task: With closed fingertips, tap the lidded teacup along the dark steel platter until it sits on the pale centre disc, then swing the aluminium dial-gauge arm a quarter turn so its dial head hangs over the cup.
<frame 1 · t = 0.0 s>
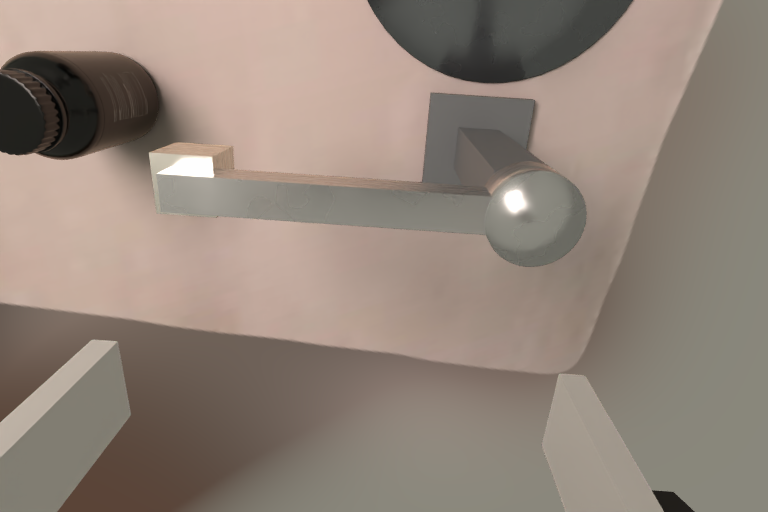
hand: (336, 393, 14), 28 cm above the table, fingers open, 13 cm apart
supplement bottle: (121, 97, 39), on the table
gauge post: (474, 147, 39), on the table
gauge arm: (362, 194, 23), point 17 cm above the table, hinge at 0.0°
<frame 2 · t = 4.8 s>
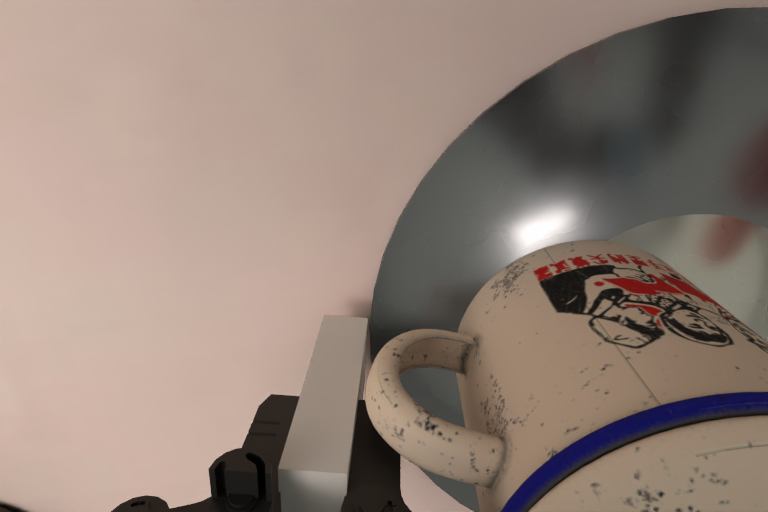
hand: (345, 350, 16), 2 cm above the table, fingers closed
turntable platter: (666, 341, 18), on the table
teacup with lid: (532, 331, 18), resting on turntable platter
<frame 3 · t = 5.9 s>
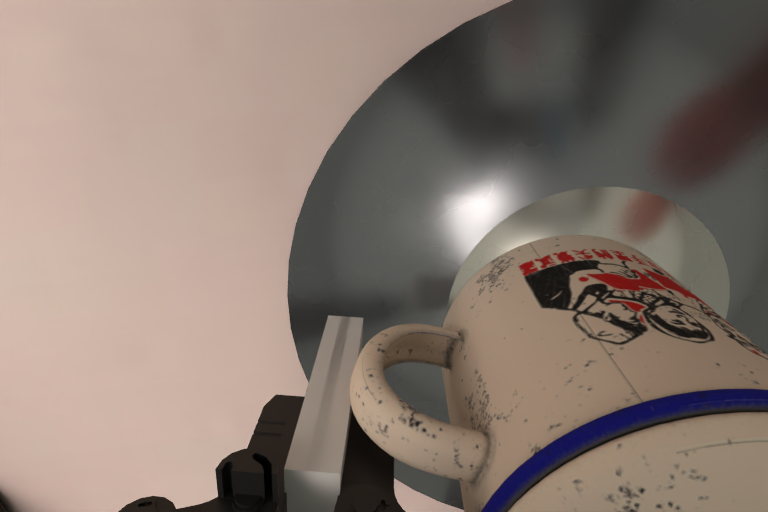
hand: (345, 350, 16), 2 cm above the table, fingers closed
turntable platter: (581, 315, 18), on the table
teacup with lid: (517, 325, 18), resting on turntable platter, touching gripper, hand
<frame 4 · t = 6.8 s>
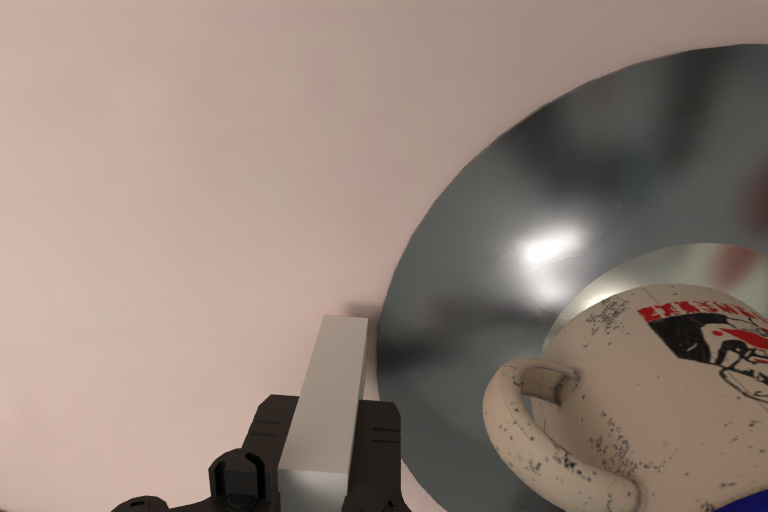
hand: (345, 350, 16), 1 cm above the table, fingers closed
turntable platter: (670, 366, 18), on the table
teacup with lid: (610, 365, 18), resting on turntable platter
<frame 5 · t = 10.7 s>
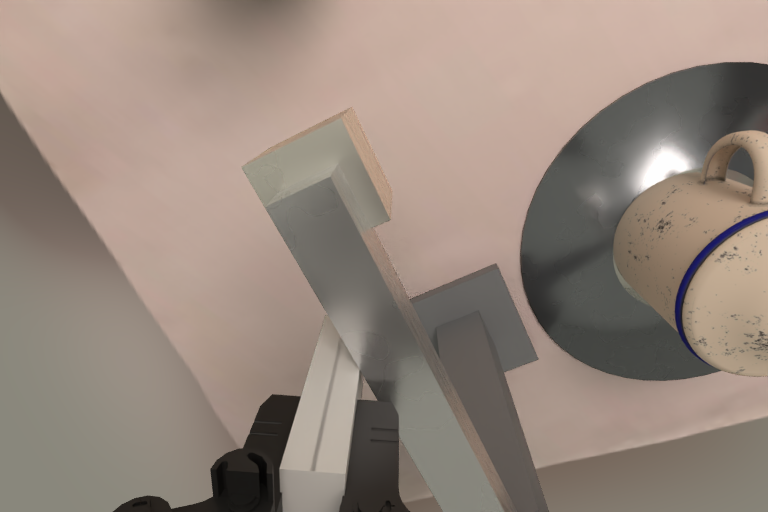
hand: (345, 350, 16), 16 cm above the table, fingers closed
turntable platter: (689, 241, 31), on the table
gauge post: (464, 330, 35), on the table
gauge arm: (438, 410, 16), point 17 cm above the table, hinge at -1.0°, touching gripper
teacup with lid: (679, 214, 31), resting on turntable platter
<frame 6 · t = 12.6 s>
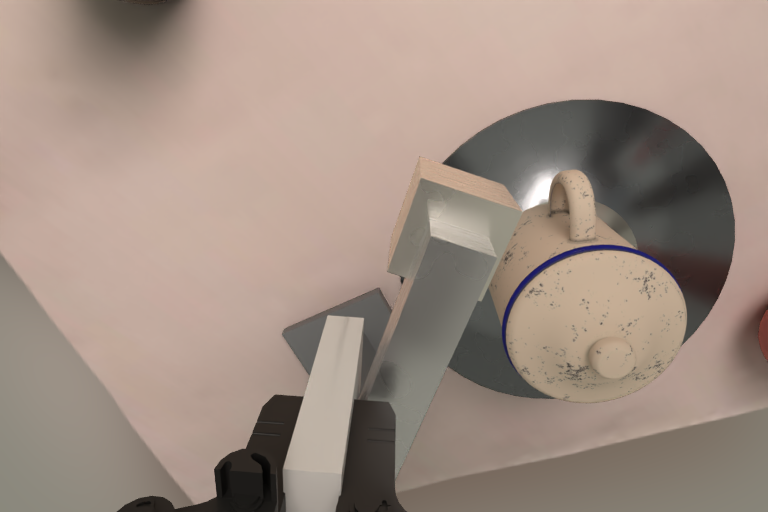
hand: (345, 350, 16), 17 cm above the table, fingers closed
turntable platter: (560, 267, 33), on the table
gauge post: (356, 350, 36), on the table
gauge arm: (367, 442, 18), point 17 cm above the table, hinge at -44.9°, touching gripper
teacup with lid: (546, 241, 32), resting on turntable platter
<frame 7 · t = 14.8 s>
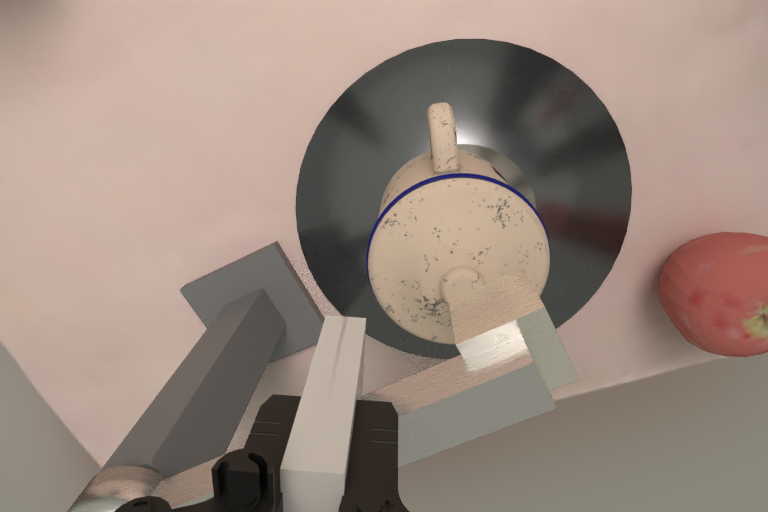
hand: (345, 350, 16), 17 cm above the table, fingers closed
turntable platter: (459, 219, 32), on the table
gauge post: (259, 308, 35), on the table
apple: (693, 265, 32), on the table
gauge arm: (299, 440, 18), point 17 cm above the table, hinge at -87.8°, touching gripper
teacup with lid: (443, 191, 31), resting on turntable platter
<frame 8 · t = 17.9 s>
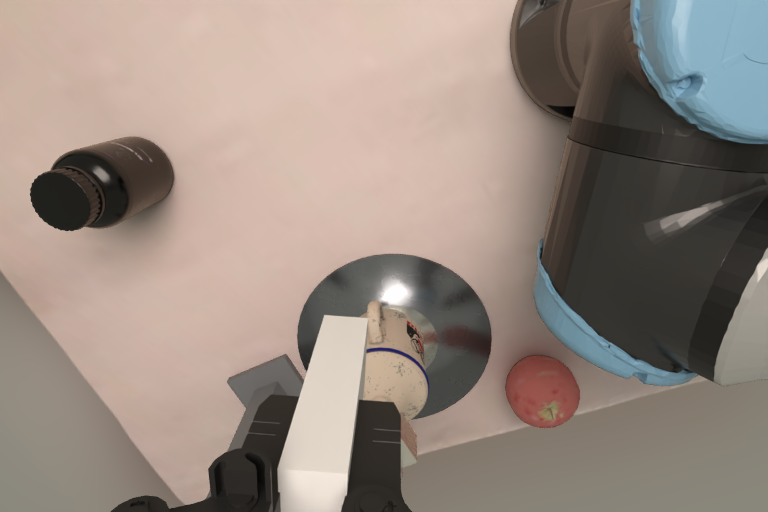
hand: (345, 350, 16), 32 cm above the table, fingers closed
turntable platter: (393, 343, 54), on the table
supplement bottle: (141, 169, 48), on the table
gauge post: (274, 391, 57), on the table
apple: (532, 367, 55), on the table
gauge arm: (302, 485, 40), point 17 cm above the table, hinge at -87.8°
teacup with lid: (383, 328, 54), resting on turntable platter
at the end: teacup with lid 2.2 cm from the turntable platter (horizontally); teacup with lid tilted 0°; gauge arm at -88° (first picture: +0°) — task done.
